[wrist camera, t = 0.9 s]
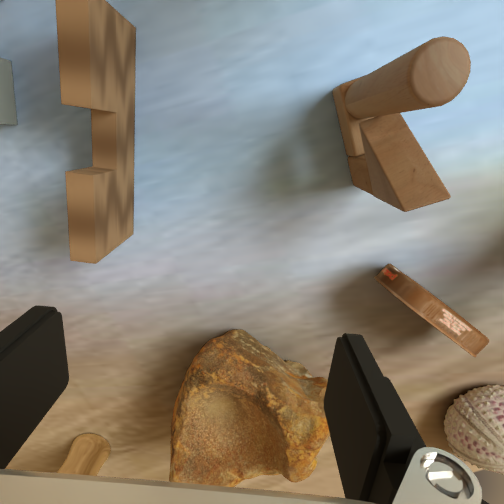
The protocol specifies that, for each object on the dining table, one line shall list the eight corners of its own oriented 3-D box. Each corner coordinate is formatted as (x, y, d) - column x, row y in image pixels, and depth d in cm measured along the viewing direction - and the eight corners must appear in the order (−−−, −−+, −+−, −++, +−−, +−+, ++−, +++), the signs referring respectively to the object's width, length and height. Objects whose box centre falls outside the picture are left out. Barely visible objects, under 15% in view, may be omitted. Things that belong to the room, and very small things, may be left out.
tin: (364, 269, 42) (389, 300, 34) (381, 250, 41) (412, 278, 33) (444, 330, 45) (485, 372, 37) (462, 314, 44) (508, 354, 36)
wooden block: (352, 186, 38) (429, 226, 21) (330, 89, 35) (400, 45, 18) (383, 176, 38) (487, 209, 21) (364, 77, 34) (469, 20, 17)
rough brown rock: (278, 280, 43) (276, 342, 29) (344, 371, 46) (372, 468, 32) (149, 360, 49) (94, 445, 35) (216, 437, 52) (190, 544, 38)
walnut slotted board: (111, 24, 33) (54, -21, 24) (135, 27, 33) (87, -16, 24) (113, 231, 40) (70, 260, 31) (133, 233, 40) (95, 263, 31)
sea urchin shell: (448, 374, 47) (484, 419, 40) (541, 377, 47) (595, 424, 40) (427, 442, 52) (457, 495, 44) (513, 445, 52) (557, 499, 44)
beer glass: (95, 424, 51) (33, 535, 37) (122, 453, 53) (73, 568, 39) (61, 440, 52) (-11, 554, 38) (89, 468, 54) (30, 585, 40)
